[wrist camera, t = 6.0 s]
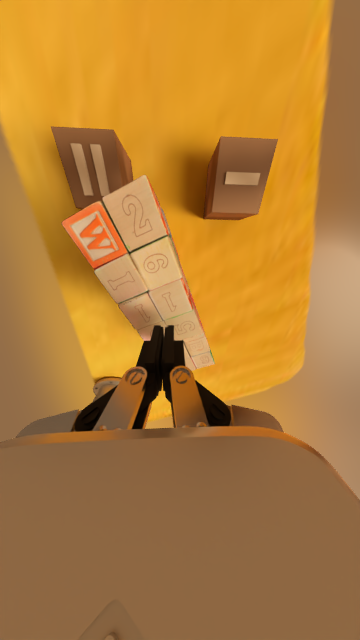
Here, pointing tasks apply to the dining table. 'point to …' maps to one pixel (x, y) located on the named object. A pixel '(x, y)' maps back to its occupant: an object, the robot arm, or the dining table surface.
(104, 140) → the walnut cube two
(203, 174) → the dining table surface
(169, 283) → the stack of blocks
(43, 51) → the dining table surface
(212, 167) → the walnut cube one
